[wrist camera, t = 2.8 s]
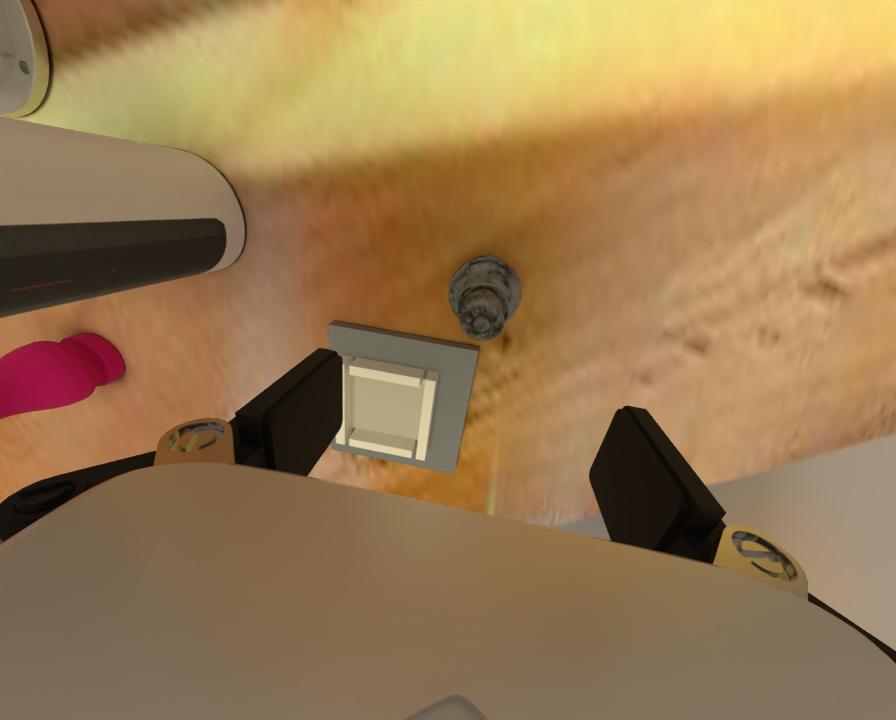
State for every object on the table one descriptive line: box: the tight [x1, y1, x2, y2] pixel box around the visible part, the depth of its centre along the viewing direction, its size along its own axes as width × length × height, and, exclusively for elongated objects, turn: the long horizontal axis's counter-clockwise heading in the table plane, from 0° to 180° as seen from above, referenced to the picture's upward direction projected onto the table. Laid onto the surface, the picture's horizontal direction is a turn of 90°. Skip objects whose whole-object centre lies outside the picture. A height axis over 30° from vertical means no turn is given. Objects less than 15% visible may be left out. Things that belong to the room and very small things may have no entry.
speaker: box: [0, 117, 246, 318], centre depth 18 cm, size 11×10×26 cm
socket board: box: [328, 321, 479, 474], centre depth 34 cm, size 16×15×3 cm
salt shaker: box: [449, 256, 521, 341], centre depth 24 cm, size 6×6×12 cm
